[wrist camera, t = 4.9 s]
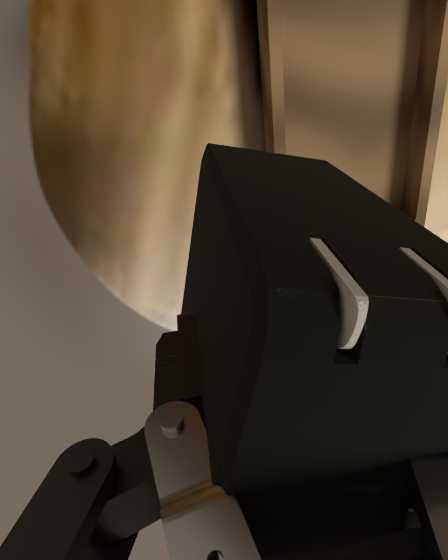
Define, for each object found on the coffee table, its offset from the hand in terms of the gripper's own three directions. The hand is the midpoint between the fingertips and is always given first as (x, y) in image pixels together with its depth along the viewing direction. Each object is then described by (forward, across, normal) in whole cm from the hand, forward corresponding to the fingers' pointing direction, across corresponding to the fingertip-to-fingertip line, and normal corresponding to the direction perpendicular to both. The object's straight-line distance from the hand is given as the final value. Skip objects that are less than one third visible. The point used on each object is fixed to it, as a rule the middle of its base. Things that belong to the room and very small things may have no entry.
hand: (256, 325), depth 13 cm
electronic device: (+4, 0, 0) cm, 4 cm away
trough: (+16, -9, -4) cm, 19 cm away
